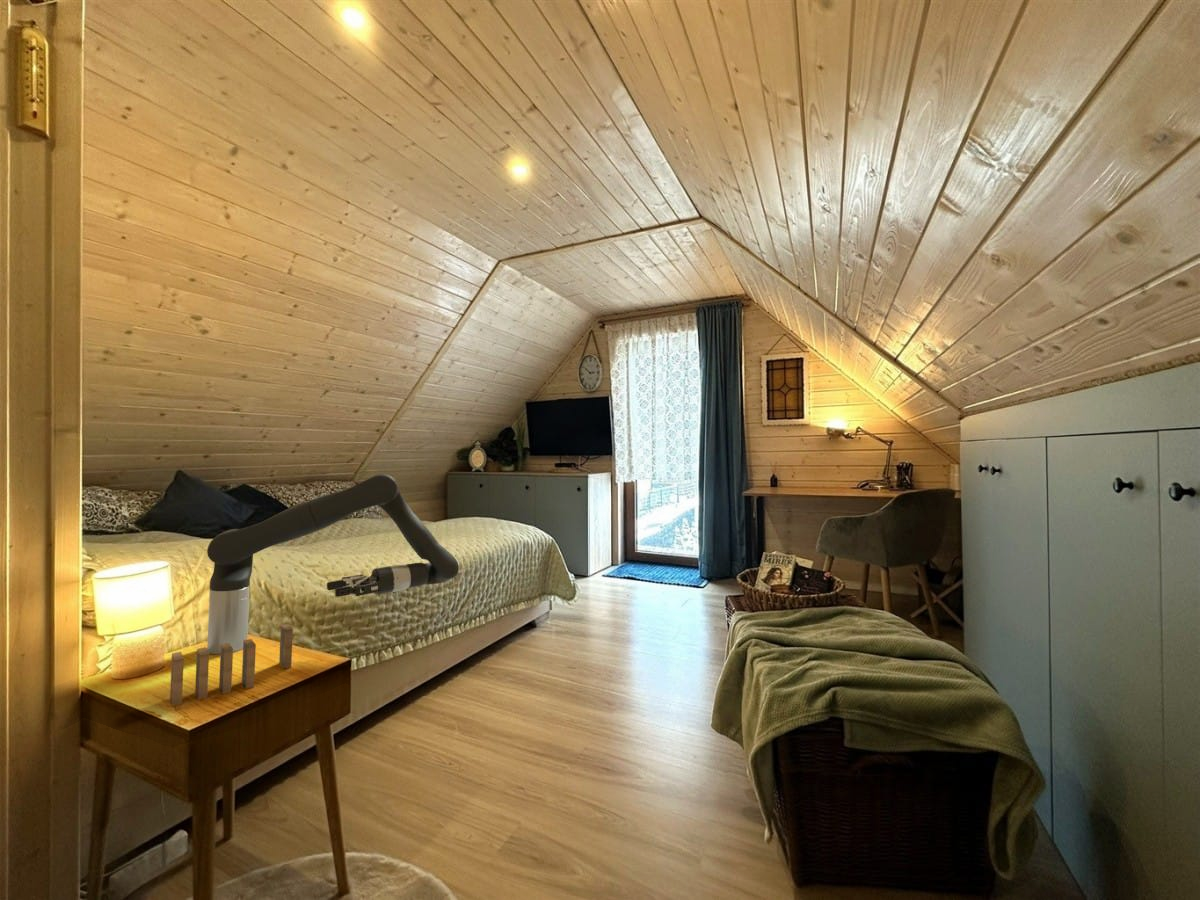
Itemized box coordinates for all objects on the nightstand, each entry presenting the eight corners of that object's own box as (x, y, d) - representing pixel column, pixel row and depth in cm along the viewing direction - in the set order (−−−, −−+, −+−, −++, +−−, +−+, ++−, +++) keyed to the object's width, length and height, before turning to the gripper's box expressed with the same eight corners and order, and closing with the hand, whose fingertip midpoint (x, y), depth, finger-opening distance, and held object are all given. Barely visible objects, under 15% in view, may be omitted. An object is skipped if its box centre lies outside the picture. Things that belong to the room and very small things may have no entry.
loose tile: (279, 663, 139) (280, 625, 139) (286, 661, 140) (287, 624, 140) (284, 669, 136) (285, 630, 136) (291, 667, 137) (292, 628, 137)
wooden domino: (195, 692, 121) (197, 648, 121) (203, 690, 122) (205, 647, 122) (198, 700, 118) (200, 655, 118) (207, 698, 119) (209, 653, 119)
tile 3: (219, 687, 124) (220, 644, 125) (227, 685, 125) (229, 642, 126) (222, 694, 121) (224, 650, 121) (231, 692, 122) (233, 648, 122)
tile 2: (241, 681, 127) (243, 640, 128) (249, 680, 129) (251, 638, 129) (246, 688, 124) (247, 646, 124) (254, 686, 125) (255, 644, 125)
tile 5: (170, 698, 118) (171, 653, 118) (179, 696, 119) (180, 651, 119) (172, 706, 115) (174, 660, 115) (181, 704, 116) (183, 658, 116)
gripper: (382, 562, 160) (324, 571, 150) (399, 570, 150) (337, 581, 139) (383, 586, 160) (324, 597, 150) (400, 596, 150) (338, 609, 139)
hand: (331, 589), depth 144 cm, fingers open, 8 cm apart
